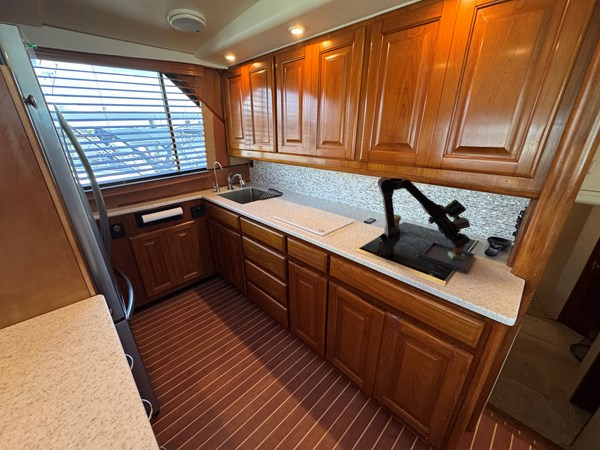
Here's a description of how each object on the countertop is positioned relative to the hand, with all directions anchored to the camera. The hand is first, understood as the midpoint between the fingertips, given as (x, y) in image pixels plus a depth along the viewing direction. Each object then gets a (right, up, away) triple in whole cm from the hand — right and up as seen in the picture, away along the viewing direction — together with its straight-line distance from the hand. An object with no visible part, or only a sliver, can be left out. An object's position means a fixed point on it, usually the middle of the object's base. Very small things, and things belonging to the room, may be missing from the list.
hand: (462, 245), depth 114 cm
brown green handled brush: (-1, -6, +3) cm, 7 cm away
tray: (-5, -6, +3) cm, 9 cm away
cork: (-21, +6, +31) cm, 38 cm away
